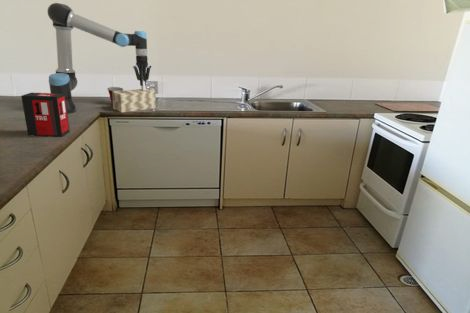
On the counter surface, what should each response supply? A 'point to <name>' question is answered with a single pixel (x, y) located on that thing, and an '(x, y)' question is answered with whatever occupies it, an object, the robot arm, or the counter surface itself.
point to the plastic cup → (113, 90)
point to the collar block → (133, 100)
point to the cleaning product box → (46, 114)
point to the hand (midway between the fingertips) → (143, 90)
